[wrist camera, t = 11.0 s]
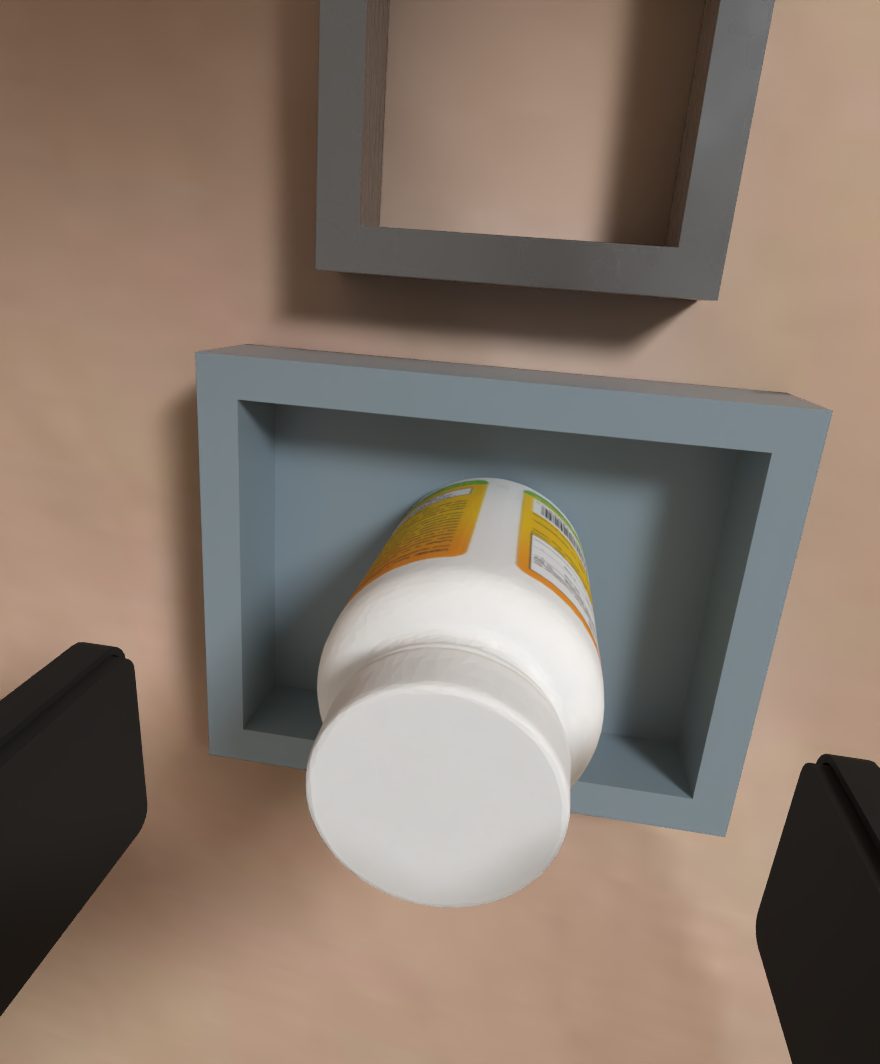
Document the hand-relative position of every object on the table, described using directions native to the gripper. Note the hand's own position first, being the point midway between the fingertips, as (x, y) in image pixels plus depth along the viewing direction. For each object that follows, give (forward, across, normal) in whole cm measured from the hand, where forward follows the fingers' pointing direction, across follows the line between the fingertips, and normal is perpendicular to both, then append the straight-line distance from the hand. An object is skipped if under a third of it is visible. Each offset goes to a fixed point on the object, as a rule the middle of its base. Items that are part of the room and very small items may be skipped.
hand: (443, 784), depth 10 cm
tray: (+11, 0, +1) cm, 11 cm away
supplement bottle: (+10, 0, +1) cm, 10 cm away
